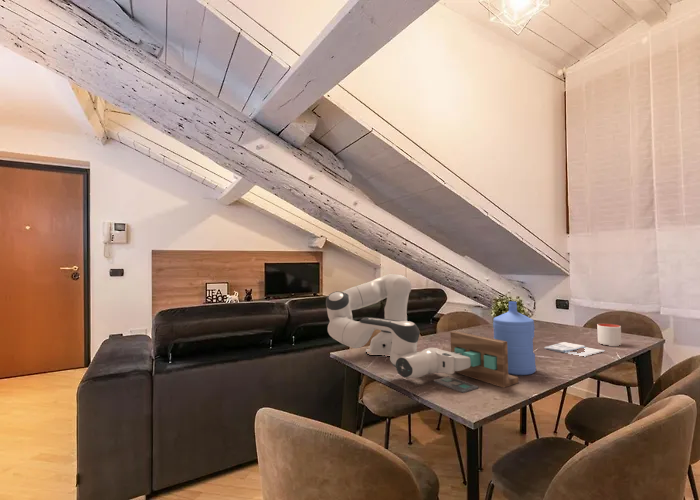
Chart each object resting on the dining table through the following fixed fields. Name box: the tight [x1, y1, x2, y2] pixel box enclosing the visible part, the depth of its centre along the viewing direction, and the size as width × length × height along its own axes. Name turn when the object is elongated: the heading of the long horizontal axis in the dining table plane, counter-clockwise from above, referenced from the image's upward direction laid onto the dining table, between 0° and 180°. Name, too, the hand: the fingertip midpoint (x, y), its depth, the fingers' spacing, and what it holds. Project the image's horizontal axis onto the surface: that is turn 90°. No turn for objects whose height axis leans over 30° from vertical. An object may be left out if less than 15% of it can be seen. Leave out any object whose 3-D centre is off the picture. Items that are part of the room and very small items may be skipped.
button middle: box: [463, 350, 481, 367], centre depth 140 cm, size 7×4×4 cm, turn 123°
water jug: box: [492, 300, 537, 376], centre depth 151 cm, size 16×16×28 cm
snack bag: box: [543, 341, 607, 358], centre depth 179 cm, size 19×20×2 cm
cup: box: [596, 323, 622, 347], centre depth 189 cm, size 10×10×10 cm
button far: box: [455, 347, 466, 355], centre depth 147 cm, size 7×4×4 cm, turn 123°
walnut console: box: [449, 330, 519, 388], centre depth 143 cm, size 9×24×16 cm, turn 33°
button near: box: [484, 354, 497, 370], centre depth 136 cm, size 7×4×4 cm, turn 123°
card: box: [433, 375, 479, 394], centre depth 134 cm, size 8×14×1 cm, turn 33°
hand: (459, 354), depth 146 cm, fingers closed, pressing on button far
